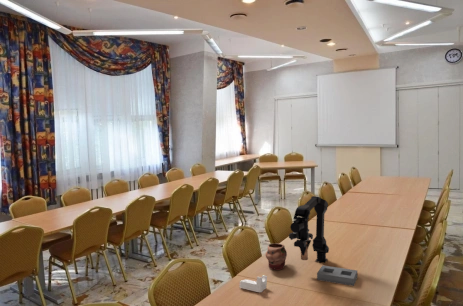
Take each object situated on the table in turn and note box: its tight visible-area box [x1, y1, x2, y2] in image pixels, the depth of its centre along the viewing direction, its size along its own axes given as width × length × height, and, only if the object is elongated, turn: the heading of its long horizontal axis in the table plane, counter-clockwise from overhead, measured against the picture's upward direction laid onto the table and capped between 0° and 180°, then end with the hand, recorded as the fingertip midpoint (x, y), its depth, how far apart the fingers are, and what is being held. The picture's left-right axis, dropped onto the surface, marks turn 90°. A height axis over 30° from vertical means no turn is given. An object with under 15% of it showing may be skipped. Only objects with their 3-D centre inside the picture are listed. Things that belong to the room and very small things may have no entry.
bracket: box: [238, 275, 268, 293], centre depth 194 cm, size 13×7×8 cm, turn 58°
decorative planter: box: [265, 242, 288, 271], centre depth 222 cm, size 20×12×14 cm, turn 150°
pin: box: [300, 242, 309, 261], centre depth 208 cm, size 4×4×10 cm
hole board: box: [316, 265, 358, 287], centre depth 200 cm, size 12×20×4 cm, turn 61°
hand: (304, 253), depth 209 cm, fingers closed on pin, 4 cm apart
